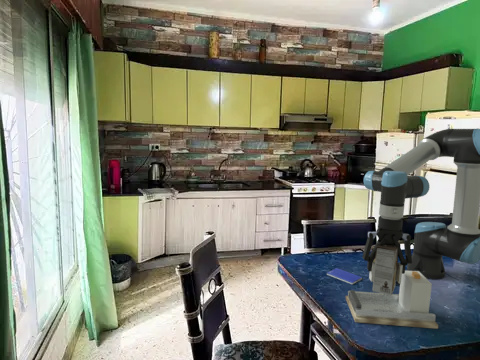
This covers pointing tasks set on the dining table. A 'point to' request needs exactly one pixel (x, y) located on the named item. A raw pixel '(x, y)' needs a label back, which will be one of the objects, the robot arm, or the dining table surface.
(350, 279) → the hard drive
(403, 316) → the white base stand
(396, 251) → the coffee box
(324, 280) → the dining table surface
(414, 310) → the breaker module
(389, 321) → the board
